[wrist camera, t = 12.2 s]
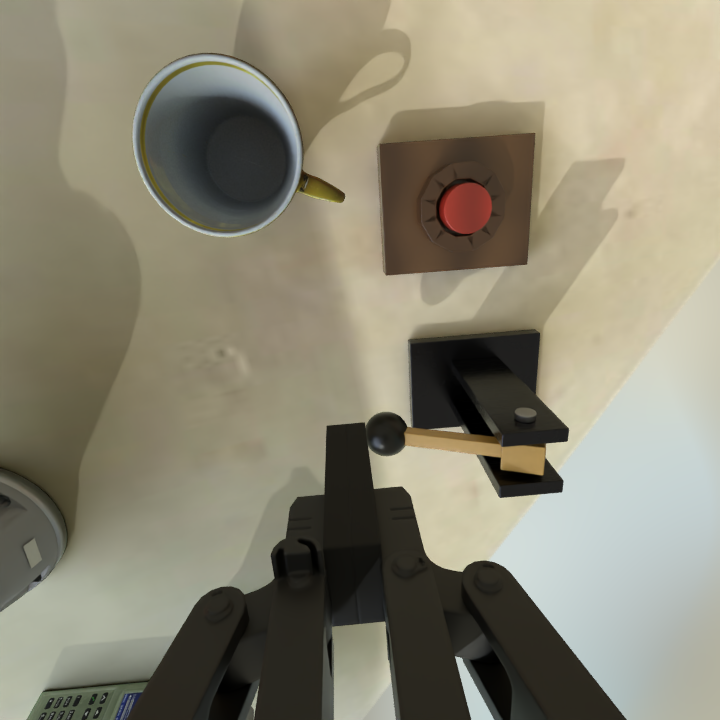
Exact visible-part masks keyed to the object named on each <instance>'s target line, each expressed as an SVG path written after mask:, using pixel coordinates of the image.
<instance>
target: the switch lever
mask: <svg viewBox="0 0 720 720" xmlns="http://www.w3.org/2000/svg"><path fill="white" fill-rule="evenodd" d="M366 436H367V443H368V446H369V448H370V449H371V450H372V451H373V452H375V453H376V454H378V455H381V456H392V455H395V454H397V453H399V452H400V451H401V450H402V449H403V448H404V447H405V445H406V446H414V447H422V448H430V449H437V450H445V451H453V452H461V453H469V454H477V455H485V456H493V457H501V470H506V471H514V472H521V473H529V474H536V475H544V465H545V453H546V443H544V444H533V445H522V446H510V447H502V446H501V445H500V443H499V442H498V440H497V439H496V437H492V436H483V435H474V434H465V433H456V432H447V431H438V430H429V429H420V428H411V427H407V425H406V423H405V421H404V420H403V419H402V418H401V417H400V416H398V415H397V414H395V413H392V412H381V413H378V414H376V415H374V416H373V417H372V418H371V419H370V420H369V421H368V423H367V425H366Z"/></svg>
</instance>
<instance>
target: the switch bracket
mask: <svg viewBox="0 0 720 720" xmlns="http://www.w3.org/2000/svg"><path fill="white" fill-rule="evenodd" d="M539 341H540V333H539V332H538V331H536V330H535V329H534V330H522V331H510V332H498V333H485V334H473V335H461V336H449V337H437V338H424V339H412V340H408V350H409V381H410V411H411V426H412V428H420V429H435V428H447V427H459V426H461V427H462V429H463V431H464V433H465V434H474V435H483V436H492V437H496V439H497V440H498V442H499V443H500V445H501V446H502V447H510V446H522V445H533V444H544V443H556V442H567V441H568V433H569V428H568V427H567V426H566V425H565V424H564V423H563V422H562V421H561V420H560V419H559V418H558V417H557V416H556V415H555V414H554V413H553V412H552V411H551V410H550V409H549V408H548V407H547V406H546V405H545V404H544V403H543V402H542V401H541V400H540V399H539V398H538V397H537V396H536V381H537V368H538V354H539ZM476 455H477V454H476ZM477 457H478V459H479V461H480V462H481V464H482V466H483V468H484V470H485V472H486V474H487V475H488V477H489V479H490V481H491V483H492V485H493V487H494V488H495V490H496V492H497V494H498V496H499V497H500V498H504V497H515V496H526V495H537V494H548V493H559V492H562V490H563V480H562V478H561V477H560V476H559V474H558V473H557V472H556V471H555V469H554V468H553V467H552V466H551V464H550V463H549V462H548V460H547V459H546V458H545V465H544V475H536V474H529V473H521V472H514V471H506V470H501V457H493V456H485V455H477Z"/></svg>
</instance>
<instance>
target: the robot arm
mask: <svg viewBox="0 0 720 720" xmlns="http://www.w3.org/2000/svg"><path fill="white" fill-rule="evenodd" d="M288 520H289V521H288V526H287V533H286V539H284V540H282V541H280V542H279V543H278V544H277V545H276V546H275V547H274V548H273V551H272V553H271V560H272V566H273V571H274V577H275V579H274V580H273V581H272V582H271V583H269V584H268V585H266V586H265V587H263V588H261V589H259V590H256V591H254V592H251V593H248V594H246V595H244V594H243V593H242V592H241V591H240V590H239V589H237V588H234V587H231V586H230V587H220V588H217V589H214V590H212V591H210V592H208V593H207V594H206V595H204V596H203V597H201V599H200V600H199V601H198V602H197V603H196V605H195V606H194V608H193V609H192V611H191V613H190V614H189V616H188V618H187V619H186V621H185V623H184V624H183V626H182V628H181V629H180V631H179V633H178V634H177V636H176V637H175V639H174V641H173V642H172V644H171V646H170V647H169V649H168V651H167V652H166V654H165V656H164V657H163V659H162V661H161V662H160V664H159V666H158V667H157V669H156V671H155V672H154V674H153V676H152V677H151V679H150V680H149V682H148V684H147V685H146V687H145V689H144V690H143V692H142V694H141V695H140V697H139V699H138V700H137V702H136V704H135V705H134V707H133V709H132V710H131V712H130V714H129V715H128V717H127V719H126V720H246V718H247V715H248V712H249V710H250V707H251V705H252V702H253V699H254V697H255V694H256V691H257V689H258V686H259V690H258V697H257V703H256V710H255V717H254V720H334V645H333V637H332V627H333V626H343V625H353V624H363V623H373V622H383V621H385V622H386V635H387V650H388V660H389V663H390V672H391V680H392V688H393V698H394V707H395V715H396V720H471V717H470V713H469V709H468V706H467V702H466V698H465V694H464V690H463V686H462V682H461V678H460V674H459V671H458V667H457V663H456V659H455V656H457V657H461V658H462V659H463V662H464V664H465V666H466V667H467V669H468V671H469V673H470V675H471V677H472V679H473V681H474V683H475V684H476V686H477V688H478V690H479V692H480V694H481V695H482V697H483V699H484V701H485V703H486V705H487V707H488V709H489V710H490V712H491V714H492V716H493V718H494V720H626V718H625V717H624V716H623V715H622V713H621V712H620V711H619V710H618V708H617V707H616V706H615V705H614V703H613V702H612V701H611V699H610V698H609V697H608V696H607V694H606V693H605V692H604V691H603V689H602V688H601V687H600V686H599V684H598V683H597V682H596V680H595V679H594V678H593V677H592V675H590V673H589V672H588V670H587V669H586V668H585V667H584V665H583V664H582V663H581V661H580V660H579V659H578V658H577V656H576V655H575V654H574V653H573V651H572V650H571V649H570V648H569V646H568V645H567V644H566V642H565V641H564V640H563V639H562V637H561V636H560V635H559V634H558V633H557V631H556V630H555V629H554V627H553V626H552V625H551V623H550V622H549V621H548V620H547V618H546V617H545V616H544V615H543V613H542V612H541V611H540V610H539V608H538V607H537V606H536V605H535V603H534V602H533V601H532V599H531V598H530V597H529V596H528V594H527V593H526V592H525V591H524V589H523V588H522V587H521V585H520V584H519V583H518V582H517V581H516V579H515V578H514V577H513V575H512V574H511V573H510V572H509V571H508V570H507V569H506V568H504V567H503V566H501V565H499V564H497V563H495V562H490V561H477V562H473V563H471V564H470V565H468V566H467V567H466V568H465V569H464V571H463V572H458V571H452V570H448V569H444V568H441V567H439V566H437V565H436V564H434V563H433V562H432V561H430V559H429V558H428V557H427V556H426V553H425V551H424V548H423V544H422V540H421V536H420V532H419V528H418V524H417V520H416V517H415V512H414V509H413V504H412V500H411V496H410V495H409V494H408V493H407V491H406V490H405V489H404V488H403V487H391V488H380V489H374V488H373V481H372V473H371V466H370V458H369V451H368V443H367V436H366V428H365V423H353V424H342V425H330V426H327V433H326V465H325V495H315V496H304V497H297V499H296V500H295V501H294V503H293V504H292V506H291V507H290V511H289V519H288ZM66 543H67V531H66V526H65V522H64V520H63V517H62V515H61V513H60V511H59V509H58V508H57V506H56V505H55V504H54V502H53V501H52V500H51V499H50V498H49V497H48V496H47V495H46V494H45V493H44V492H43V491H42V490H41V489H40V488H39V487H37V486H36V485H34V484H33V483H32V482H30V481H28V480H27V479H25V478H23V477H21V476H19V475H17V474H15V473H13V472H10V471H7V470H5V469H2V468H0V612H1V611H2V610H4V609H5V608H7V607H8V606H9V605H11V604H12V603H14V602H15V601H16V600H18V599H19V598H20V597H22V596H23V595H24V594H26V593H27V592H28V591H30V590H32V589H33V588H34V587H36V586H37V585H38V584H39V583H41V582H42V581H43V580H44V579H45V578H46V577H47V576H48V575H49V574H50V573H51V571H52V570H53V569H54V567H55V566H56V565H57V563H58V562H59V560H60V559H61V557H62V555H63V554H64V551H65V548H66Z"/></svg>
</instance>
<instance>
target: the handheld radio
mask: <svg viewBox="0 0 720 720" xmlns="http://www.w3.org/2000/svg"><path fill="white" fill-rule="evenodd" d="M147 684H148V682H141V683H130V684H120V685H110V686H100V687H90V688H79V689H69V690H59V691H49V692H42V693H41V695H40V697H39V699H38V700H37V702H36V704H35V706H34V707H33V709H32V711H31V713H30V715H29V716H28V718H27V720H126V719H127V717H128V715H129V714H130V712H131V710H132V709H133V707H134V705H135V704H136V702H137V700H138V699H139V697H140V695H141V694H142V692H143V690H144V689H145V687H146V685H147Z"/></svg>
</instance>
